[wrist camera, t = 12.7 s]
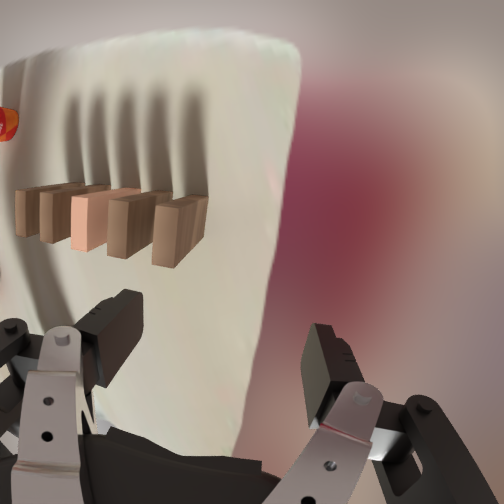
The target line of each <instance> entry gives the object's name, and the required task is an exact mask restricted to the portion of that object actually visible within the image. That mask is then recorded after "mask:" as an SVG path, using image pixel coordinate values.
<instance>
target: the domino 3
mask: <svg viewBox="0 0 504 504" xmlns="http://www.w3.org/2000/svg"><path fill="white" fill-rule="evenodd" d="M140 193H141V189H136V188H121V189H114V190H107V191H101V192H95V193H89V194H83V195H77V196H72V202H71V249H74V250H79V251H83V252H88V251H90V250H92V249H94V248H96V247H98V246H100V245H102V244H104V243H106V242H107V232H108V209H109V200H110V199H115V198H120V197H125V196H130V195H135V194H140Z"/></svg>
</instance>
